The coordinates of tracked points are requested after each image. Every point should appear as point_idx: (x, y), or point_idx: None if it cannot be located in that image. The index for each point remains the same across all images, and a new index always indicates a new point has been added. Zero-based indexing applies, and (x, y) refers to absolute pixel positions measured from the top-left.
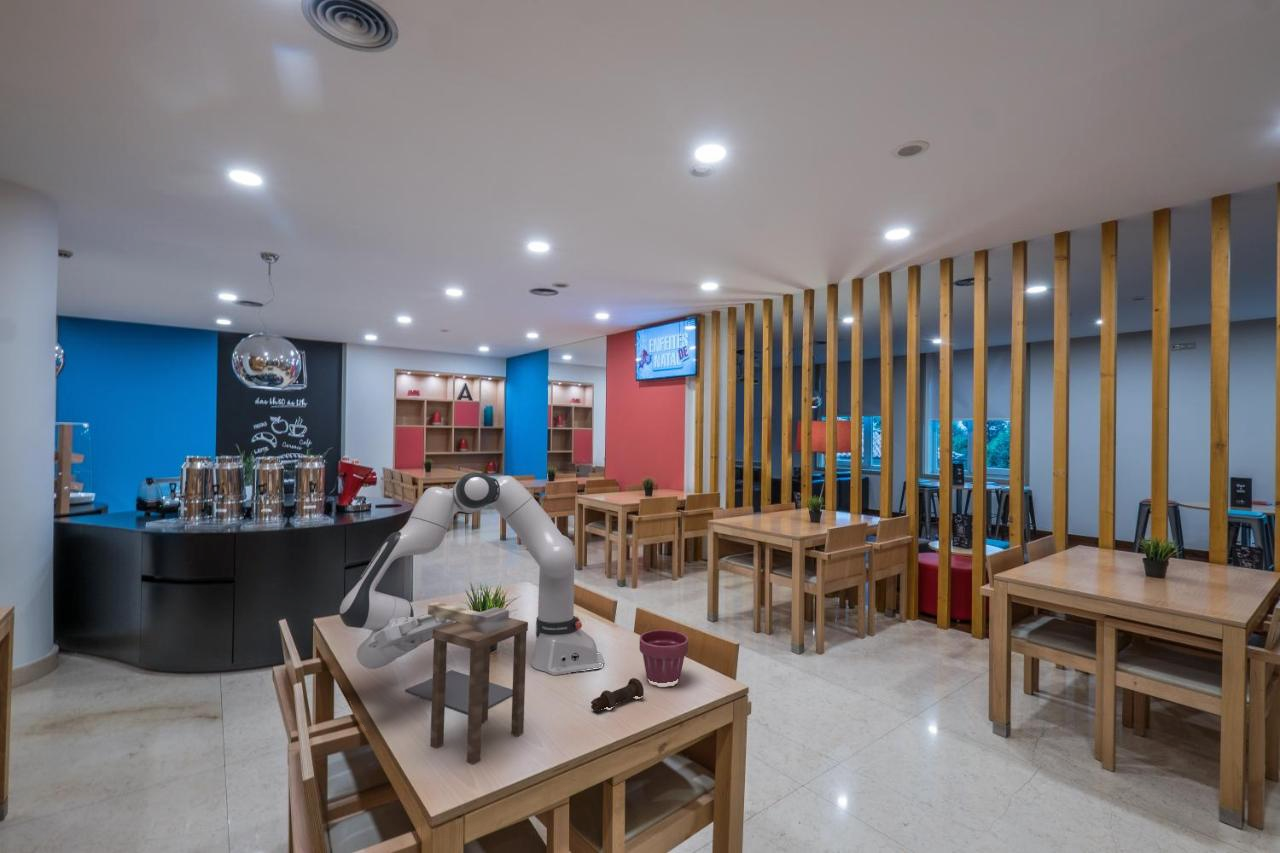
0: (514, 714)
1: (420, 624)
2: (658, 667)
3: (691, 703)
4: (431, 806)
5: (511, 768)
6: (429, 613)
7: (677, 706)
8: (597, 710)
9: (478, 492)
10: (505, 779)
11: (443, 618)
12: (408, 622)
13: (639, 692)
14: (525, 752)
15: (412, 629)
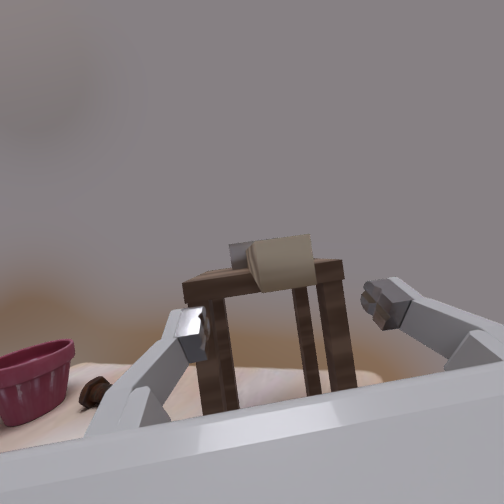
0: (237, 399)
1: (366, 301)
2: (66, 373)
3: (113, 368)
4: (380, 379)
5: (289, 381)
6: (311, 276)
7: (121, 371)
8: None
9: None
10: (303, 373)
11: (164, 410)
12: (440, 302)
13: (108, 383)
14: (261, 393)
15: (414, 335)
